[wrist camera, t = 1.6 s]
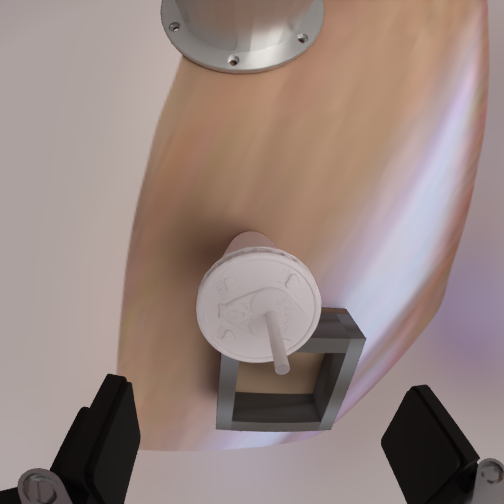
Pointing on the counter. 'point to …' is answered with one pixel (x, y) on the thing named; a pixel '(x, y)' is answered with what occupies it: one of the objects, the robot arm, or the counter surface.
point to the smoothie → (258, 302)
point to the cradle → (293, 382)
